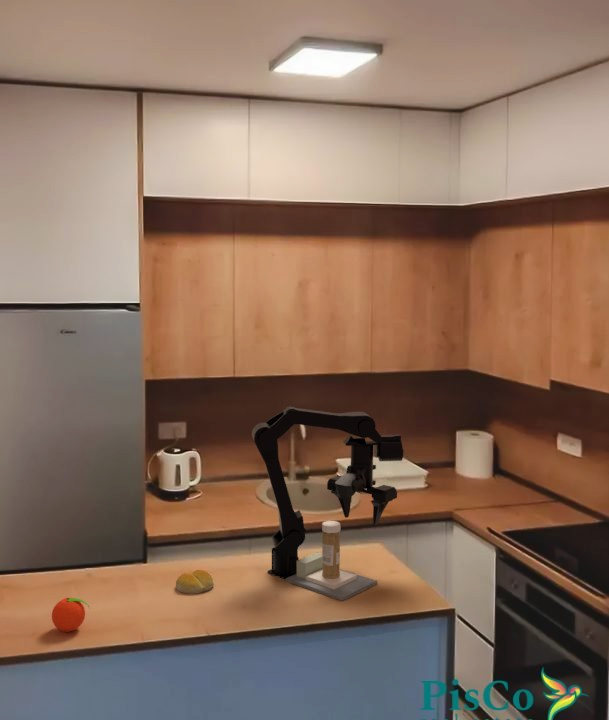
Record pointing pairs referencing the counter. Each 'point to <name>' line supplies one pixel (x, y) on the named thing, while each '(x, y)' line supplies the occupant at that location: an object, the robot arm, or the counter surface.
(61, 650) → the counter surface
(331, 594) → the board
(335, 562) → the sprinkles bottle
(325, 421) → the robot arm
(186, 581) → the bread roll
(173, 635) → the counter surface
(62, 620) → the clementine
